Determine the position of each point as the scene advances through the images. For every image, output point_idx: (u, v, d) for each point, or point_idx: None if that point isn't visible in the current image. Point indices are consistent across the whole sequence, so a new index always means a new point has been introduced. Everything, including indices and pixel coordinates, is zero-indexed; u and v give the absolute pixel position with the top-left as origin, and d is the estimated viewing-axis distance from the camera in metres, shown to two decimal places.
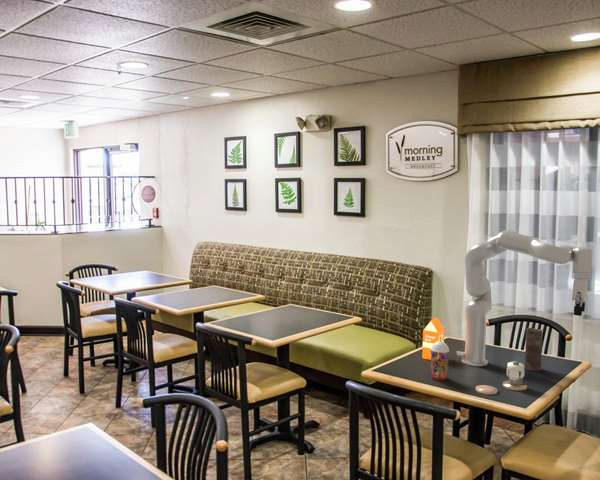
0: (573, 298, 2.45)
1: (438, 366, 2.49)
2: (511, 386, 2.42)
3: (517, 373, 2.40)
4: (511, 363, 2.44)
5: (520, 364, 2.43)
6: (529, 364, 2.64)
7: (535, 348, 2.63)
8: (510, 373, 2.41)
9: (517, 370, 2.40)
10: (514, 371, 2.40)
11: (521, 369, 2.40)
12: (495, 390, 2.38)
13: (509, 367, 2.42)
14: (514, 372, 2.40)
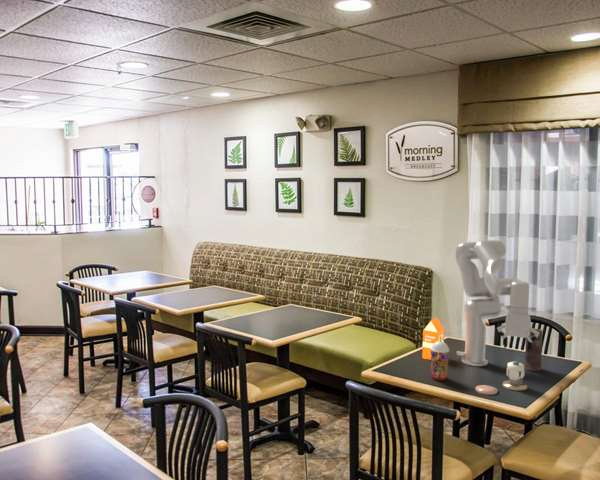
0: (529, 335, 2.37)
1: (438, 366, 2.49)
2: (511, 386, 2.42)
3: (517, 373, 2.40)
4: (511, 363, 2.44)
5: (520, 364, 2.43)
6: (529, 364, 2.64)
7: (535, 348, 2.63)
8: (510, 373, 2.41)
9: (517, 370, 2.40)
10: (514, 371, 2.40)
11: (521, 369, 2.40)
12: (495, 390, 2.38)
13: (509, 367, 2.42)
14: (514, 372, 2.40)
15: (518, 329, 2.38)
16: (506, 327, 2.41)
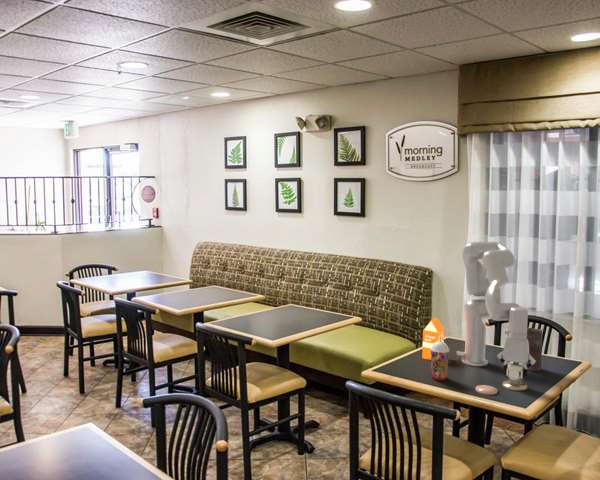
0: (527, 360, 2.38)
1: (438, 366, 2.49)
2: (511, 386, 2.42)
3: (517, 373, 2.40)
4: (511, 363, 2.44)
5: (520, 364, 2.43)
6: None
7: (535, 348, 2.63)
8: (510, 373, 2.41)
9: (517, 370, 2.40)
10: (514, 371, 2.40)
11: (521, 369, 2.40)
12: (495, 390, 2.38)
13: (509, 367, 2.42)
14: (514, 372, 2.40)
15: (516, 355, 2.40)
16: (504, 352, 2.43)
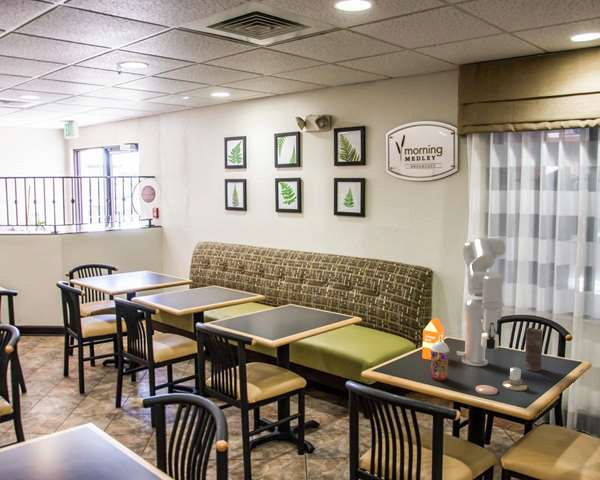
0: (486, 330, 2.32)
1: (438, 366, 2.49)
2: (511, 386, 2.42)
3: (482, 341, 2.36)
4: None
5: None
6: (529, 364, 2.64)
7: (535, 348, 2.63)
8: (481, 341, 2.39)
9: (482, 338, 2.36)
10: (481, 339, 2.37)
11: (486, 338, 2.34)
12: (495, 390, 2.38)
13: None
14: (481, 339, 2.37)
15: (483, 322, 2.36)
16: None
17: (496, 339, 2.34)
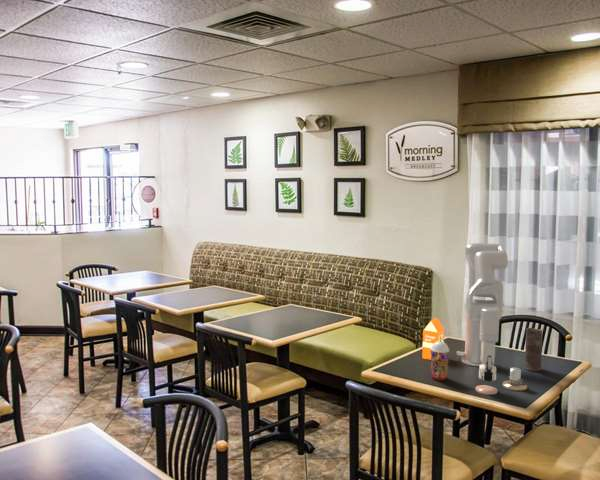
0: (484, 362, 2.33)
1: (438, 366, 2.49)
2: (511, 386, 2.42)
3: (479, 373, 2.37)
4: None
5: None
6: (529, 364, 2.64)
7: (535, 348, 2.63)
8: None
9: (480, 370, 2.37)
10: (479, 371, 2.38)
11: (483, 370, 2.36)
12: (495, 390, 2.38)
13: None
14: (479, 371, 2.38)
15: (481, 355, 2.37)
16: None
17: (493, 371, 2.35)
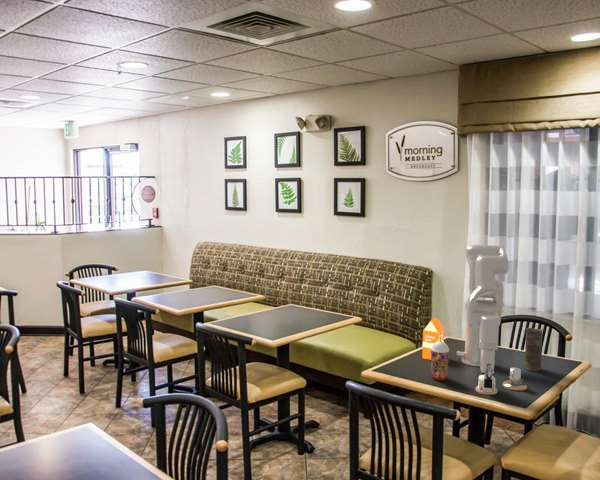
0: (483, 370, 2.34)
1: (438, 366, 2.49)
2: (511, 386, 2.42)
3: (479, 384, 2.38)
4: None
5: None
6: (529, 364, 2.64)
7: (535, 348, 2.63)
8: (478, 383, 2.41)
9: (479, 381, 2.38)
10: (478, 381, 2.39)
11: (482, 381, 2.37)
12: (495, 390, 2.38)
13: None
14: (478, 382, 2.39)
15: None
16: (480, 358, 2.42)
17: (493, 382, 2.36)
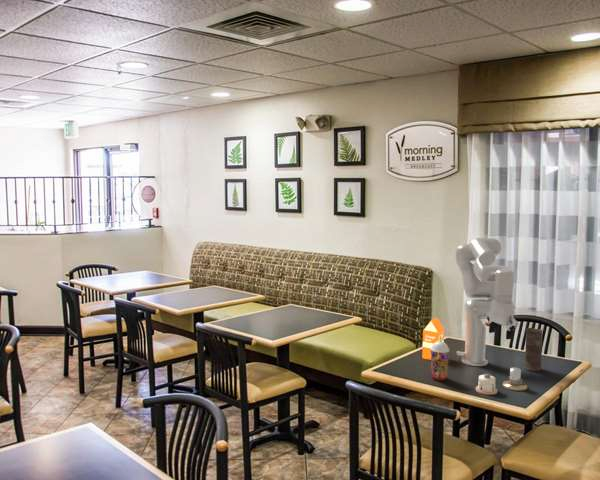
0: (506, 323, 2.39)
1: (438, 366, 2.49)
2: (511, 386, 2.42)
3: (479, 384, 2.38)
4: None
5: (490, 379, 2.37)
6: (529, 364, 2.64)
7: (535, 348, 2.63)
8: (478, 383, 2.41)
9: (479, 381, 2.38)
10: (478, 381, 2.39)
11: (482, 381, 2.37)
12: (495, 390, 2.38)
13: None
14: (478, 382, 2.39)
15: (498, 316, 2.42)
16: (490, 313, 2.46)
17: (493, 382, 2.36)
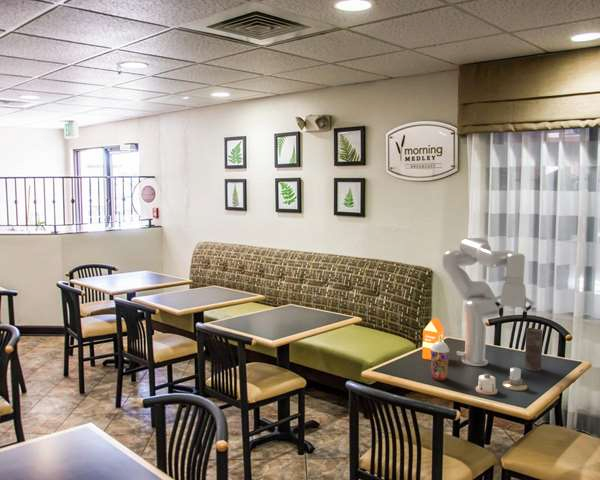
0: (524, 304, 2.45)
1: (438, 366, 2.49)
2: (511, 386, 2.42)
3: (479, 384, 2.38)
4: None
5: (490, 379, 2.37)
6: (529, 364, 2.64)
7: (535, 348, 2.63)
8: (478, 383, 2.41)
9: (479, 381, 2.38)
10: (478, 381, 2.39)
11: (482, 381, 2.37)
12: (495, 390, 2.38)
13: None
14: (478, 382, 2.39)
15: (513, 299, 2.46)
16: (502, 297, 2.49)
17: (493, 382, 2.36)
